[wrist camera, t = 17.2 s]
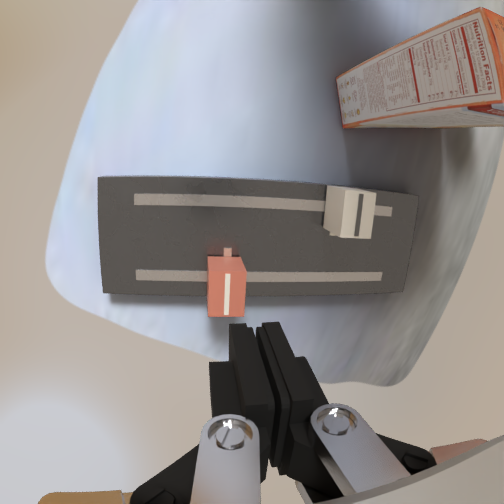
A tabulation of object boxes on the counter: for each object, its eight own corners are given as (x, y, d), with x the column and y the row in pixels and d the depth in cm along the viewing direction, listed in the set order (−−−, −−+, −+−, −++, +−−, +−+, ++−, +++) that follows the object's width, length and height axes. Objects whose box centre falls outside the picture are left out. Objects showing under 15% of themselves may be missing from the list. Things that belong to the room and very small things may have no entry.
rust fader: (207, 256, 29) (208, 271, 25) (240, 256, 30) (247, 272, 26) (206, 297, 30) (208, 317, 26) (238, 297, 31) (244, 317, 27)
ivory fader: (327, 185, 29) (345, 189, 25) (355, 188, 30) (377, 193, 26) (323, 227, 30) (340, 237, 26) (351, 229, 31) (371, 239, 27)
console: (104, 176, 28) (97, 177, 26) (408, 193, 33) (420, 196, 31) (108, 285, 31) (102, 293, 29) (393, 285, 36) (403, 292, 34)
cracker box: (435, 81, 30) (580, 61, 10) (441, 129, 32) (592, 135, 12) (331, 73, 28) (484, 0, 8) (339, 129, 30) (509, 112, 10)
